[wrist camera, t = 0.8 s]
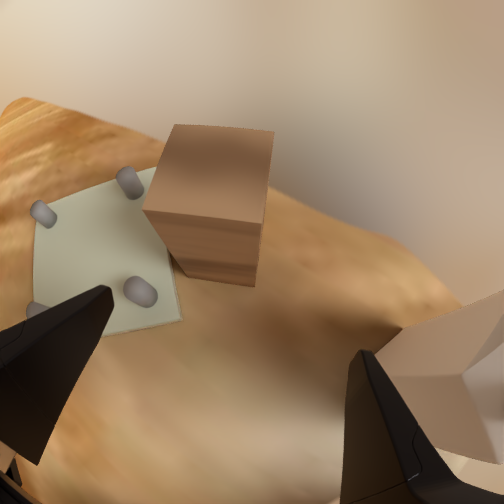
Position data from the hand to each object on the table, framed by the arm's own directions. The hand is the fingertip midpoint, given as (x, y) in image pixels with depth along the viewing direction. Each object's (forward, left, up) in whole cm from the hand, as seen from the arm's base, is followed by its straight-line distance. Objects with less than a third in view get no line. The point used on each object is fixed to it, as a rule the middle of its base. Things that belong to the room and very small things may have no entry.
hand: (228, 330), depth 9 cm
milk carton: (+7, -13, -15) cm, 21 cm away
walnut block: (+5, +7, -15) cm, 17 cm away
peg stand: (-5, +16, -15) cm, 22 cm away
